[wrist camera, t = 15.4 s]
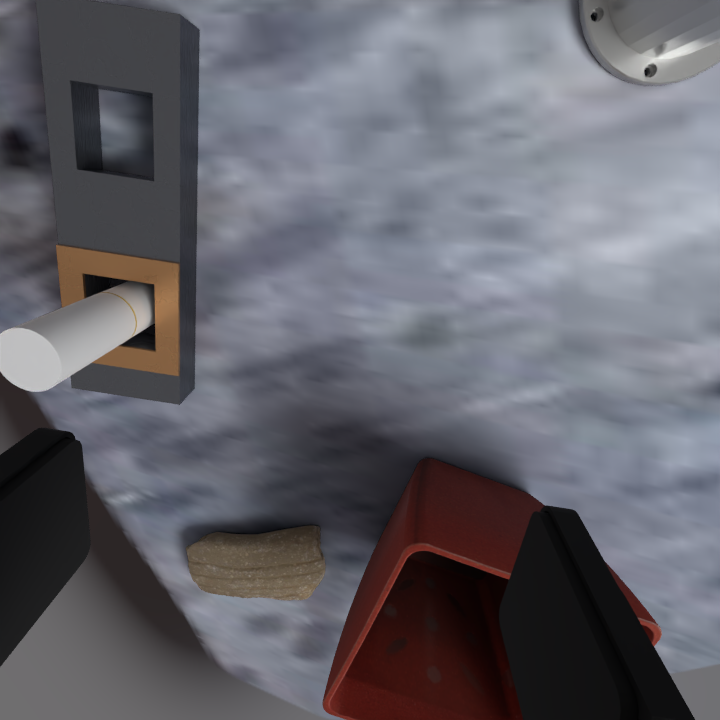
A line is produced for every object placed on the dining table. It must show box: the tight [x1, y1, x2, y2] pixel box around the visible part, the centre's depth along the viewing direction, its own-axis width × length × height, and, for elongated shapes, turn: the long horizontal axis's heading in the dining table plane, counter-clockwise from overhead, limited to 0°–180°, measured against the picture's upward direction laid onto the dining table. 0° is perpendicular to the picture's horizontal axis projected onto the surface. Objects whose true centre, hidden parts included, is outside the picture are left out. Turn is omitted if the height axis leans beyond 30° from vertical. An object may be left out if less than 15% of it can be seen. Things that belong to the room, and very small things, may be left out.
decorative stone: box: [186, 525, 326, 600], centre depth 53 cm, size 10×16×4 cm, turn 96°
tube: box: [0, 281, 155, 392], centre depth 36 cm, size 4×4×15 cm
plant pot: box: [323, 458, 662, 720], centre depth 42 cm, size 19×19×17 cm
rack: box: [36, 0, 199, 405], centre depth 39 cm, size 30×10×4 cm, turn 172°
